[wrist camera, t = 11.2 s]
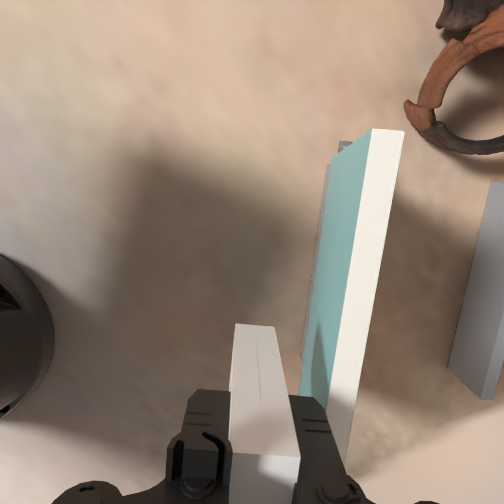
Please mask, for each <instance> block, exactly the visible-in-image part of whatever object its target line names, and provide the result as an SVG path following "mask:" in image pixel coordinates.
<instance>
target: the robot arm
mask: <svg viewBox="0 0 504 504" xmlns="http://www.w3.org/2000/svg"><path fill="white" fill-rule="evenodd" d="M53 349H54V331H53V324H52V320H51V316H50V313H49V310H48V308H47V305H46V303H45V301H44V299H43V298H42V296H41V294H40V293H39V291H38V290H37V288H36V287H35V285H34V284H33V283H32V282H31V280H30V279H29V278H28V277H27V276H26V275H25V274H24V273H23V272H22V271H21V270H20V269H19V268H17V267H16V266H15V265H14V264H12V263H11V262H10V261H8V260H7V259H5V258H4V257H2V256H0V418H2V417H4V416H5V415H7V414H8V413H10V412H11V411H12V410H14V409H15V408H16V407H17V406H18V405H19V404H21V403H22V402H23V401H24V399H25V398H26V397H27V396H28V395H29V394H30V393H31V392H32V391H33V390H34V389H35V388H36V387H37V386H38V384H39V383H40V382H41V380H42V379H43V377H44V376H45V374H46V372H47V370H48V368H49V365H50V362H51V359H52V355H53ZM52 504H375V503H373V502H371V501H370V500H368V499H367V498H366V496H365V494H364V493H363V491H362V489H361V487H360V486H359V484H358V483H357V482H355V481H354V480H353V479H352V478H351V477H350V476H348V475H347V474H346V471H345V468H344V465H343V462H342V459H341V456H340V454H339V451H338V448H337V445H336V442H335V439H334V436H333V434H332V430H331V427H330V424H329V423H328V418H327V415H326V413H325V410H324V408H323V407H322V405H321V404H320V403H319V402H318V401H317V400H316V399H315V398H314V397H308V396H295V395H288V392H287V387H286V382H285V377H284V372H283V367H282V362H281V357H280V352H279V347H278V342H277V337H276V332H275V327H271V326H259V325H248V324H236V323H235V333H234V343H233V353H232V363H231V373H230V383H229V391H216V390H204V389H198V390H197V391H196V392H195V393H194V394H193V395H192V396H191V397H190V398H189V400H188V405H187V409H186V414H185V417H184V421H183V426H182V430H181V432H180V433H179V434H177V435H176V436H175V437H174V438H172V440H171V442H170V443H169V445H168V447H167V460H166V476H165V479H164V480H163V481H162V482H160V483H159V484H158V485H156V486H154V487H152V488H151V489H149V490H145V491H142V492H139V493H135V494H130V495H126V496H122V494H121V493H120V491H119V490H118V488H117V487H115V486H114V485H112V484H110V483H108V482H103V481H89V482H84V483H80V484H78V485H76V486H74V487H72V488H70V489H68V490H66V491H65V492H64V493H62V494H61V495H60V496H59V497H58V498H57V499H55V500H54V501H53V503H52ZM415 504H439V503H436V502H433V501H419V502H417V503H415Z"/></svg>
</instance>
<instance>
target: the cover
mask: <svg viewBox="0 0 504 504" xmlns="http://www.w3.org/2000/svg"><path fill="white" fill-rule="evenodd" d="M404 132H405V131H397V130H385V129H373V128H372V129H371V130H369V131H368V132H367V133H365V134H364V135H363V136H361V137H360V138H358V139H357V140H356V141H354V142H353V143H352V144H350V145H349V146H347V147H346V148H345V149H343V150H342V151H341V152H339V153H338V154H336V155H335V156H334V157H332V163H331V170H330V177H329V184H328V191H327V198H326V205H325V212H324V219H323V226H322V233H321V240H320V247H319V254H318V261H317V268H316V275H315V282H314V289H313V296H312V303H311V310H310V317H309V324H308V331H307V338H306V345H305V352H304V359H303V366H302V373H301V380H300V387H299V396H308V397H314V398H315V399H316V400H317V401H318V402H319V403H320V404H321V405H322V407H323V408H324V410H325V413H326V415H327V418H328V423H329V424H330V427H331V430H332V434H333V436H334V439H335V442H336V445H337V448H338V451H339V454H340V456H341V459H342V462H343V465H344V463H345V458H346V452H347V447H348V441H349V436H350V430H351V424H352V419H353V413H354V408H355V402H356V397H357V391H358V386H359V380H360V375H361V369H362V364H363V358H364V353H365V347H366V342H367V336H368V331H369V325H370V320H371V314H372V309H373V303H374V298H375V292H376V287H377V281H378V276H379V270H380V265H381V259H382V254H383V248H384V243H385V237H386V232H387V226H388V221H389V215H390V210H391V204H392V199H393V193H394V187H395V182H396V176H397V171H398V165H399V160H400V154H401V149H402V143H403V138H404Z"/></svg>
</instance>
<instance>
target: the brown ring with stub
mask: <svg viewBox="0 0 504 504" xmlns="http://www.w3.org/2000/svg"><path fill="white" fill-rule="evenodd" d="M443 27H444V28H445V29H446V30H447V31H453V32H463V31H467V30H469V29H471V28H472V30H471V31H470V33H469V35H468V36H467V37H466V38H465V39H464V40H463V41H459V40H456V39H454V38H452V39H451V40H450V41H449V42H448V43H447V45H446V46H445V48H444V49H443V50H442V52H441V53H440V55H439V56H438V58H437V59H436V60H435V61H434V63H433V64H432V66H431V68H430V70H429V72H428V74H427V77H426V79H425V80H424V82H423V84H422V86H421V89H420V92H419V96H418V101H417V104H414V103H412V102H411V101H410V100H406V101H405V102H404V109H405V112H406V115H407V118H408V120H409V121H410V123H411V125H412V126H413V127H415V128H417V129H418V133H419V135H420V136H422V137H423V138H425V139H427V140H428V141H430V142H432V143H434V144H436V145H438V146H440V147H442V148H445V149H448V150H452V151H456V152H459V153H463V154H470V155H473V154H477V155H489V154H493V153H498V152H503V151H504V135H503V136H500V137H497V138H493V139H489V140H478V141H475V140H469V139H464V138H461V137H459V136H456V135H455V134H453V133H452V132H451V131H450V130H449V129H448V128H447V127H446V125H445V124H444V123H443V122H442V121H436V116H435V113H434V108H438V107H440V106H441V104H442V100H443V97H444V94H445V92H446V89H447V87H448V85H449V83H450V82H451V80H452V79H453V78H454V76H455V75H456V74H457V73H458V72H459V71H460V70H461V69H462V68H463V67H464V66H465V65H466V64H468V63H469V62H470V61H472V60H473V59H474V58H476V57H477V56H478V55H480V54H483V53H486V52H488V51H491V50H494V49H499V48H504V0H444V7H443V10H442V13H441V15H440V17H439V19H438V20H437V22H436V28H437V29H441V28H443Z"/></svg>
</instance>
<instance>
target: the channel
mask: <svg viewBox="0 0 504 504" xmlns="http://www.w3.org/2000/svg"><path fill="white" fill-rule="evenodd" d="M352 143H353V142H347V141H340V142H339V148H338V153H339V152H341V151H342V150H343V149H345V148H346V147H347V146H349V145H350V144H352ZM330 170H331V164H329V165H327V170H326V177H325V184H324V191H323V198H322V205H321V212H320V219H319V227H318V234H317V241H316V248H315V255H314V262H313V269H312V276H311V283H310V290H309V298H308V305H307V312H306V319H305V326H304V333H303V340H302V347H301V354H300V357H301V360H302V363H303V359H304V352H305V345H306V338H307V331H308V324H309V317H310V310H311V303H312V296H313V289H314V282H315V275H316V268H317V261H318V254H319V247H320V240H321V233H322V226H323V219H324V212H325V205H326V198H327V191H328V184H329V177H330ZM503 362H504V182H491V186H490V190H489V194H488V198H487V202H486V207H485V211H484V215H483V219H482V224H481V228H480V232H479V236H478V240H477V245H476V249H475V253H474V257H473V262H472V266H471V270H470V274H469V279H468V283H467V287H466V291H465V295H464V300H463V304H462V308H461V312H460V317H459V321H458V325H457V329H456V333H455V338H454V342H453V346H452V350H451V355H450V359H449V363H448V367H447V368H448V369H449V370H450V371H452V372H453V373H454V374H455V375H456V376H457V377H458V378H459V379H460V380H461V381H462V382H463V383H464V384H465V385H466V386H467V387H468V388H469V389H470V390H471V391H472V392H474V393H475V394H476V395H477V396H478V397H479V398H480V399H487V400H493V399H494V395H495V391H496V388H497V384H498V380H499V377H500V373H501V369H502V366H503Z"/></svg>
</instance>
